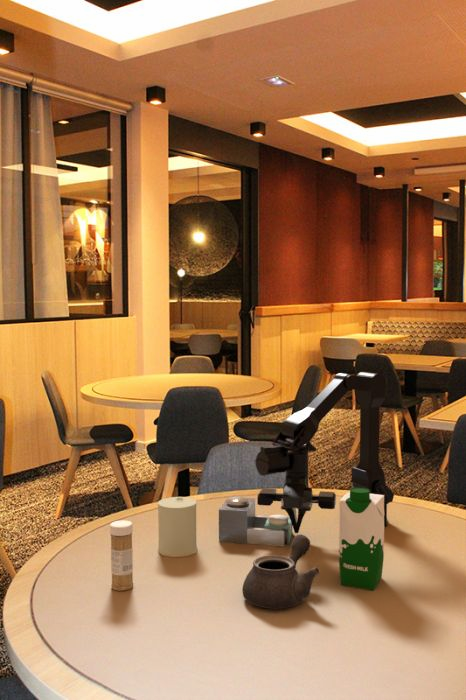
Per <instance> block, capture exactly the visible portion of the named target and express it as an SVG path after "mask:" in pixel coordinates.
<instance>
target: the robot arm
mask: <svg viewBox="0 0 466 700" xmlns="http://www.w3.org/2000/svg"><path fill="white" fill-rule="evenodd" d="M387 388H388V381H387V378H386V377H385V376H384V375H383V374H381V373H375V372H374V373H373V372H369V371H368V372H367V371H360V372H359V373H357V374H352V373H351V374H350V373H344V372H339V373H336V374H335V375H334V376H333V379H332V380H331V381H330V382H329V383H328V384H327V385H326V387H324V388H323V390H321V392H320V393H318V395H317V396H315V398H313V399H312V401H311V402H310V403H309V404H308V405H307V406H306V407H305V408H303V409H302V410H298V411H296V412H293V414H291V415H290V416H289V417H287V418H286V419H285V420H284V421H283V422H282V423H281V428H280V430H279V432H278V433H277V435H276V437H275V439H274V440H273V442H272V445H270V446H269V445H268V446H267V445H264V446H263V445H262V446H260V447H259V448H260V450H259V452H258V453H257V454H256V458H255V460H254V461H255V468H256V471H257V473H258V474H259V475H260V476H263V477H265V476H271V475H276V474H277V475H278V474H284V476H285V477H284V484H283V485H284V486H283V489H282V490H283V493H279V492H278V493H277V489H276V488H261V489H260V491H259V493H258V494H257V504H256V505H259V506H268V507H269V506H271V505H272V504H273V503H274V502H280V503H281V506H280V510H284V511H285V512H286V513H287V515H288V517H289V518H290V520H291V523H292V530H293V531H294V533H295V534H299V532H300V528H301V526H302V525H301V524H302V522H303V519H304V517H305V515H306V513H307V512H310V511H311V510H312V508H313V504H317V506H318V507H319V508H320V509H322V510H335V509H336V504H337V494H336V493H335V492H334V491H321V490H320V491H319V493H318V495H316V494H313V487H310V486H309V478H310V477H309V476H310V475H309V473H310V471H309V470H310V468H309V467H310V465H309V464H310V463H309V462H310V459H309V458H310V457H309V455H310V454H309V453H310V452H316V451H317V448H316V447H315V446H314V445H313V444H312V442H311V441H312V440H313V438H314V436H315V435H316V434H317V432H318V430H319V426H320V423H321V421H323V419H324V418H326V416H327V415H328V414H329V412H331V410H332V409H334V407H335V406H337V404H338V403H340V401H342V399H343V398H344V397H345V396H346V395H347V394H348V393H349V392H350V391H351V390H352V391H353V393H354V396H355V399H356V401H357V403H358V405H359V409H360V410H359V411H360V413H359V416H360V417H359V424H360V425H359V462H358V463H357V465H356V467H354V466H353V467H351V469H350V472H351V479H350V483H352V488H366V489H369V490H370V494H378V495H384V514H385V515H384V527H388V514H387V512H388V505H389V503H392V502H393V501H394V500H393V499H394V498H395V494H394V492H393V491H392V490H391V489H390V487H388V485H387V482H386V476H385V475H386V474H385V471H384V469H383V467H382V465H381V462H380V424H381V423H380V414H381V413H380V412H381V406H382V404H383V402H384V401H385V400H386V395H387Z"/></svg>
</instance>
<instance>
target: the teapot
mask: <svg viewBox="0 0 466 700" xmlns="http://www.w3.org/2000/svg"><path fill="white" fill-rule="evenodd" d="M310 547H311V540H310V539H309V538H308V537H307V535H304V534H296V535H295V536H294V537H293V538H292V541H291V542H290V554H289V556H288V557H287V556H283V555H279V554H278V555H277V554H274V555H273V554H271V555H269V554H268V555H263V556H258V557H257V558H255V559H254V560H253V563H252V565H253V566H252V568H251V569H250V570H249V572H248V574H246V577H245V578H244V580H243V584H242V589H241V590H242V597H243V598H244V599H245V600H246V602H248V603H249V604H252V605H253V606H256V607H260V608H264V609H273V610H274V609H275V610H277V609H286V608H290V607H293V606H296V605H298V604H301V602H302V601H303V600H304V599H306V598H308V597H309V596H310V593H311V588H312V584H313V583H314V579H315V577H316V576H318V575H319V574H320V572H321V571H320V569H319V568H318V567H316V566H315V567H312V568H310V569H308V570H306V571H305V572H304V573H302V574H299V572H298V571H297V568H296V567H297V563H298V561H299V560H300V559H301V558H302V557H304V556H305V555H307V553H308V551H310V550H309V549H310Z"/></svg>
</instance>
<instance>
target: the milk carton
mask: <svg viewBox="0 0 466 700" xmlns="http://www.w3.org/2000/svg"><path fill="white" fill-rule="evenodd" d="M338 507H339V518H338V519H339V521H338V522H339V523H338V524H339V526H338V528H339V531H338V534H339V537H338V539H339V540H338V544H339V545H338V546H339V549H338V550H339V551H338V560H339V561H338V564H339V578H340V579H339V581H340V586H341V585H342V586H345V587H351V588H358V589H363V590H369V591H374V590H375V589H376V587H378V586H377V585H378V584H379V583H380V581H381V579H382V578H383V577H382V576H383V570H384V569H383V567H384V559H385V558H384V557H385V555H384V554H385V526H384V515H385V514H384V495H378V494H370V490H369V489H366V488H353V487H351V488H350V489H349V491H348V492H347V493H345V494H344V496H342V497H341V498H340V499H339V506H338Z"/></svg>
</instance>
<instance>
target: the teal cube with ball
mask: <svg viewBox="0 0 466 700" xmlns="http://www.w3.org/2000/svg"><path fill="white" fill-rule="evenodd" d="M268 516H269V518H268V519H267V521H266V524H265V529H280V530H282V529H288V544H291V539H292V535H293V526H292V523H291V520H290V519H288V517H289V516H286V515H285V514H272V515H268Z"/></svg>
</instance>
